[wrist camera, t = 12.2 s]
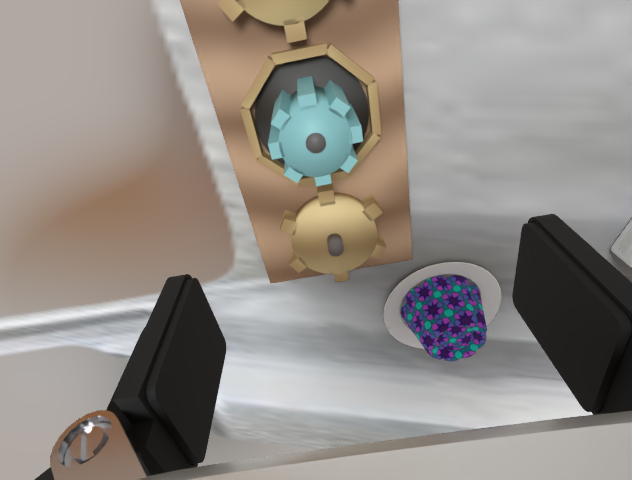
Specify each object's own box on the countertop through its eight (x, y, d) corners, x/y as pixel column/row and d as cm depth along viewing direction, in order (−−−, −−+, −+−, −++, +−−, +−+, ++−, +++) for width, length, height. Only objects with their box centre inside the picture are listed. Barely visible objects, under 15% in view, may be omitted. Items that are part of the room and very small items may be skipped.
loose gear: (263, 86, 26) (257, 105, 22) (346, 68, 25) (356, 84, 21) (283, 163, 29) (280, 194, 25) (357, 148, 29) (368, 177, 24)
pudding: (422, 358, 45) (435, 399, 40) (358, 302, 40) (366, 341, 35) (517, 305, 41) (544, 344, 36) (461, 235, 36) (485, 269, 31)
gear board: (149, -118, 21) (117, -140, 18) (382, -174, 21) (401, -211, 17) (271, 273, 37) (268, 305, 33) (408, 249, 36) (421, 280, 32)
